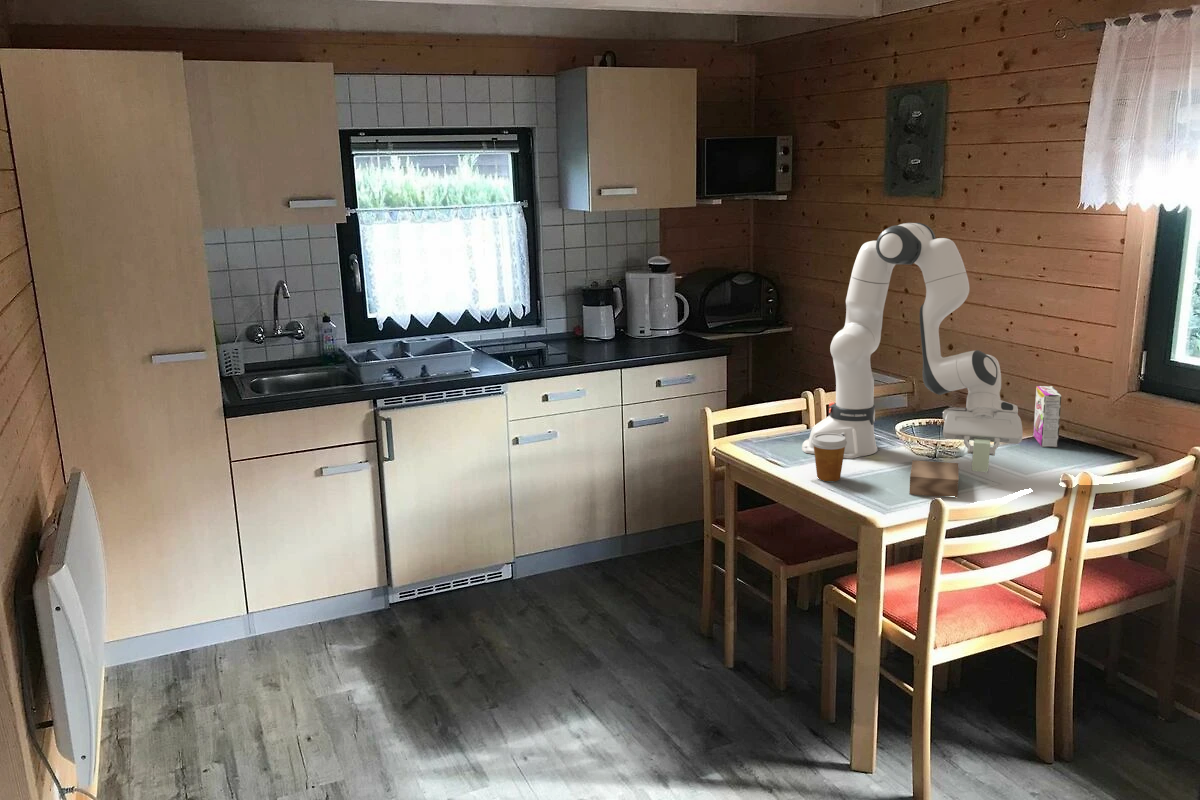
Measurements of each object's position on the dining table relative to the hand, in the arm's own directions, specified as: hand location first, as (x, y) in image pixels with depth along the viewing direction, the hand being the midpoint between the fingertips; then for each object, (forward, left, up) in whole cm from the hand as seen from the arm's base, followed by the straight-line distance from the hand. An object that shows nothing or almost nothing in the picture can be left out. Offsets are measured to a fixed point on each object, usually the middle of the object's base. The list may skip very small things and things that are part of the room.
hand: (981, 453), depth 257 cm
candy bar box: (+19, +43, -8) cm, 47 cm away
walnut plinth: (-12, -6, -8) cm, 16 cm away
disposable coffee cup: (-40, -5, -8) cm, 41 cm away
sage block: (0, +1, -5) cm, 5 cm away
